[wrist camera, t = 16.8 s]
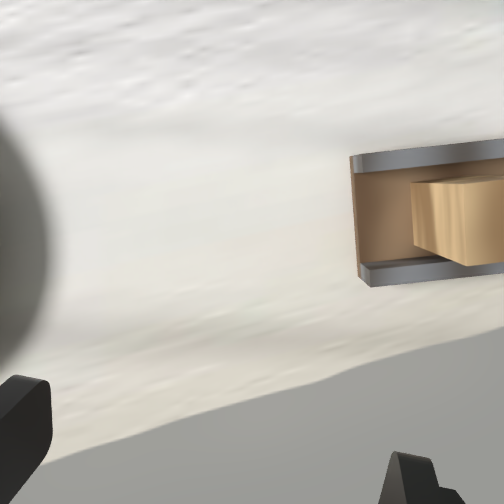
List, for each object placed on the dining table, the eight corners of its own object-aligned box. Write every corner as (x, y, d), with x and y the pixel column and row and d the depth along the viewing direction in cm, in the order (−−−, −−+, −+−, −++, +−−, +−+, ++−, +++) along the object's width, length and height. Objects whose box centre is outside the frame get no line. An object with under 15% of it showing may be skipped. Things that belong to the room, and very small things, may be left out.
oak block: (414, 244, 33) (466, 266, 25) (410, 182, 32) (463, 184, 24) (468, 238, 33) (539, 257, 25) (466, 175, 32) (537, 175, 24)
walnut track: (358, 276, 34) (370, 287, 31) (349, 156, 33) (361, 154, 29) (516, 259, 34) (547, 268, 31) (515, 138, 33) (546, 133, 29)
